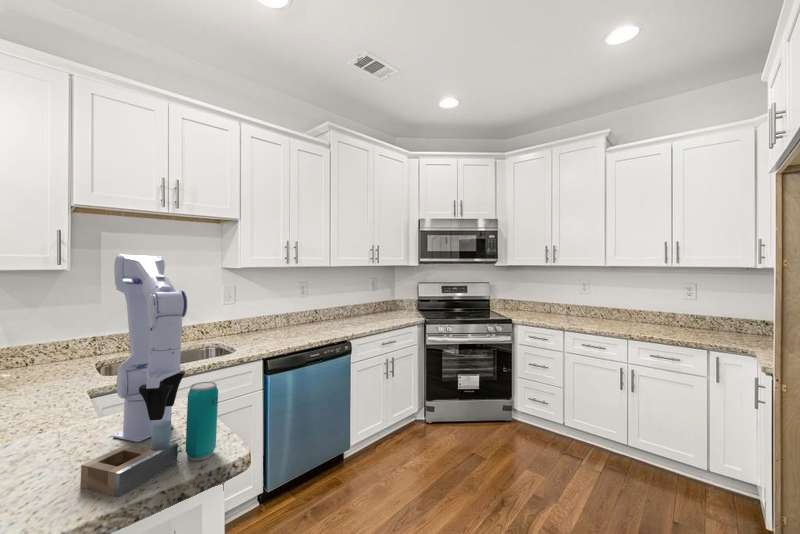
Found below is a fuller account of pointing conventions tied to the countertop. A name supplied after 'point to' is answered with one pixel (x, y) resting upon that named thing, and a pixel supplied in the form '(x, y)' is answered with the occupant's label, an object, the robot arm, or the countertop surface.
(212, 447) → the beverage can
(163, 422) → the dowel
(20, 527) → the countertop surface
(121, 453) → the block
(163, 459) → the wall
